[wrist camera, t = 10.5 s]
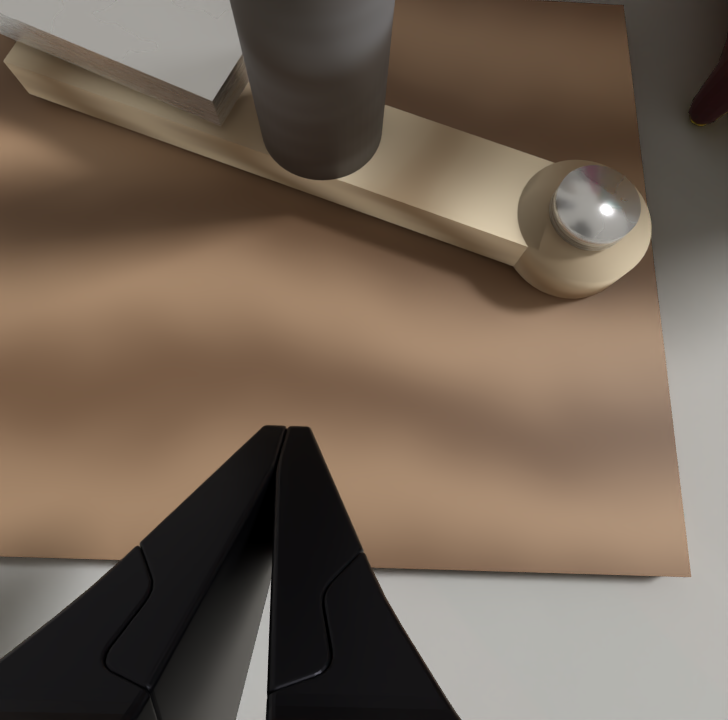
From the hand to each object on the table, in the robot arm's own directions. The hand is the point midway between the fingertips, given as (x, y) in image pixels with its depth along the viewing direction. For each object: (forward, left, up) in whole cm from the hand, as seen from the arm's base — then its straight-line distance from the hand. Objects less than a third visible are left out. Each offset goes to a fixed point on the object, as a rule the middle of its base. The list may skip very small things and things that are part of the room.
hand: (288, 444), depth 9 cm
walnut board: (+6, +6, -9) cm, 13 cm away
